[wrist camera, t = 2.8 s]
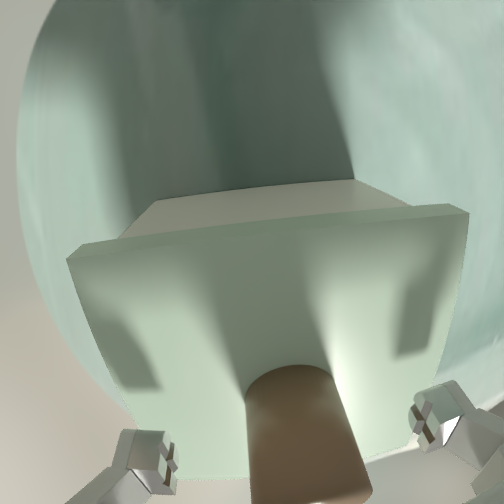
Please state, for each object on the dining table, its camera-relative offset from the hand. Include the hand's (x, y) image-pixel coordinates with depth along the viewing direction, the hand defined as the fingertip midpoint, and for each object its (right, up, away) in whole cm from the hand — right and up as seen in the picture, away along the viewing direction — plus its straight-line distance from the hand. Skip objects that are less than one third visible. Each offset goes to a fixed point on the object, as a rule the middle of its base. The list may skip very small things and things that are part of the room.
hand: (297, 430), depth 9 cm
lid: (0, +1, +4) cm, 4 cm away
